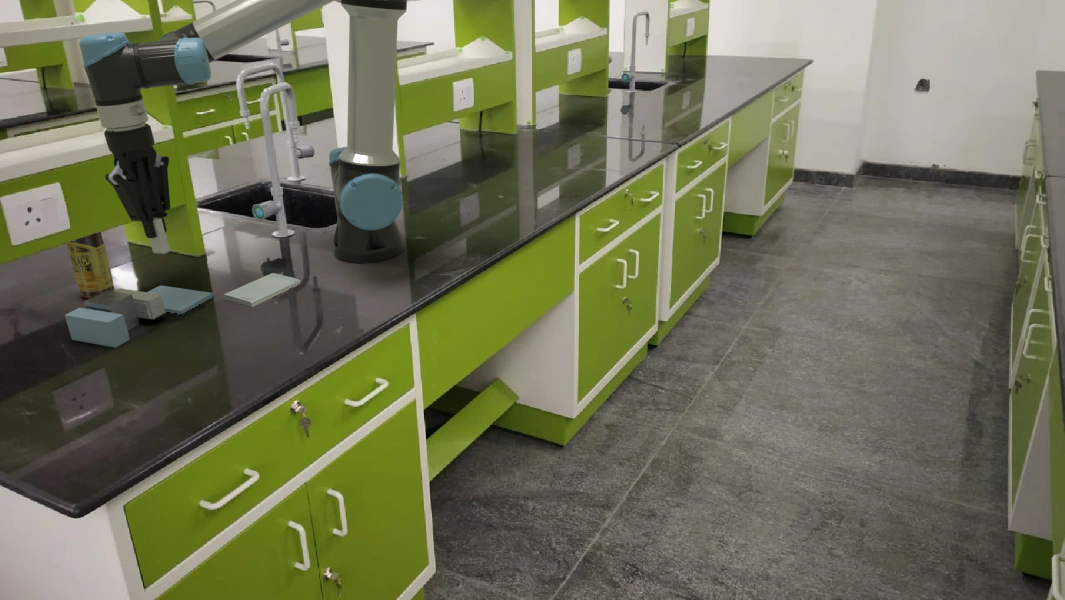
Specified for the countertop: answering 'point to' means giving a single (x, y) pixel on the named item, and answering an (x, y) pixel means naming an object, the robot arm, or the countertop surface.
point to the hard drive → (261, 289)
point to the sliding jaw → (146, 303)
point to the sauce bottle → (91, 265)
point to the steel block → (115, 306)
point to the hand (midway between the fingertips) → (161, 251)
